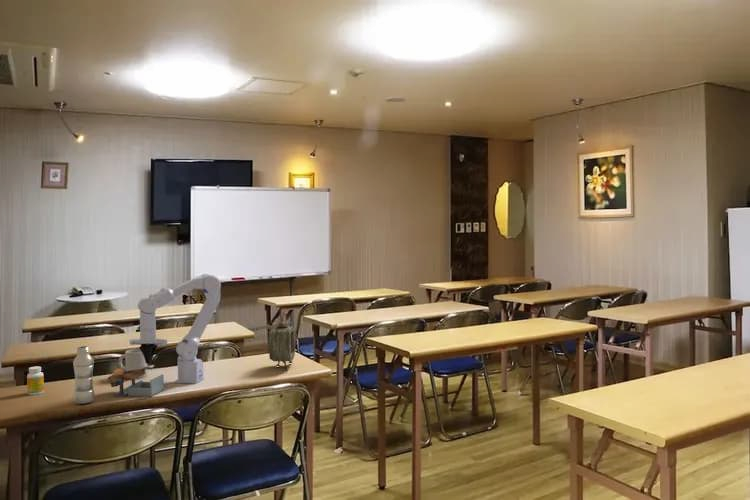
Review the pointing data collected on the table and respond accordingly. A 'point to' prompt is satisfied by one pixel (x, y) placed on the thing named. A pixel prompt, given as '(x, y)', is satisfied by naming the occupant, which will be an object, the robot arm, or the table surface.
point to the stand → (122, 391)
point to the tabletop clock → (282, 342)
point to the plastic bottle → (83, 376)
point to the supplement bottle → (35, 381)
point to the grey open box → (147, 387)
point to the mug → (134, 361)
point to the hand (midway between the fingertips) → (148, 363)
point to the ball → (118, 372)
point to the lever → (128, 375)
